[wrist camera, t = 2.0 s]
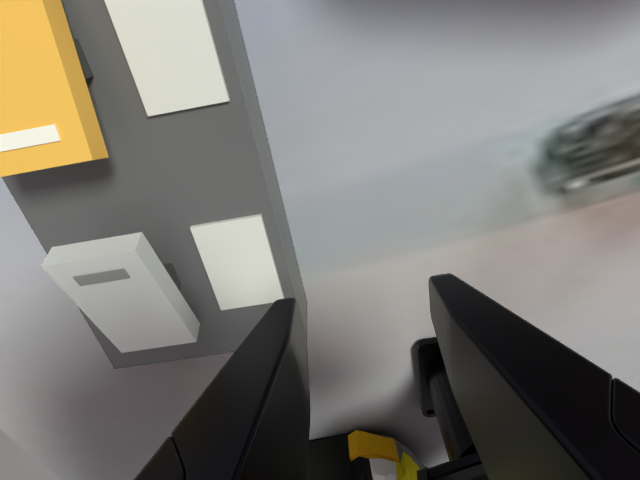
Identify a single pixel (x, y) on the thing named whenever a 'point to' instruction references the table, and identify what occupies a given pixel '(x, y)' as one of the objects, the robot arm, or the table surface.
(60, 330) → the table surface
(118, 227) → the rocker switch panel
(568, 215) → the table surface
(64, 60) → the block
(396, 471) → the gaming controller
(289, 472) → the robot arm
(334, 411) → the table surface
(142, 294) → the grey rocker
